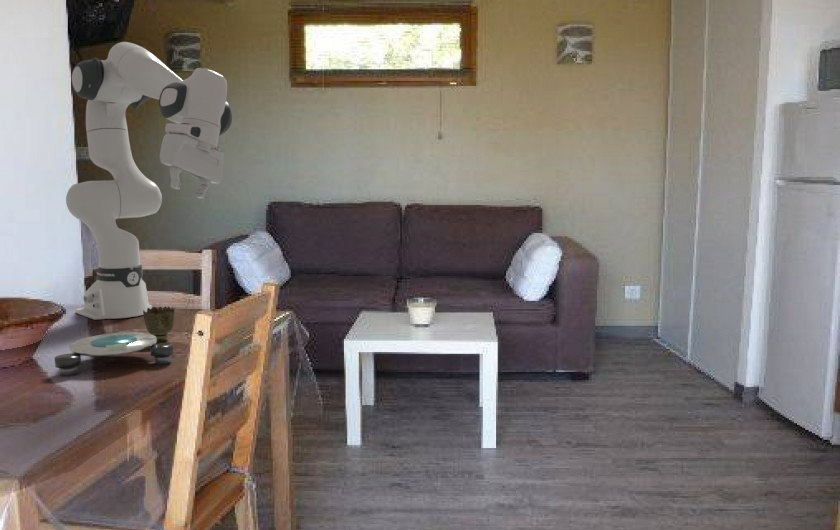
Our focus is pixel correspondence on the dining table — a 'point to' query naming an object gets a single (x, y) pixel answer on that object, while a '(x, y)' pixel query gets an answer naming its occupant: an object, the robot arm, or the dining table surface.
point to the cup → (159, 321)
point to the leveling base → (112, 349)
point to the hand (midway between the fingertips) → (187, 193)
